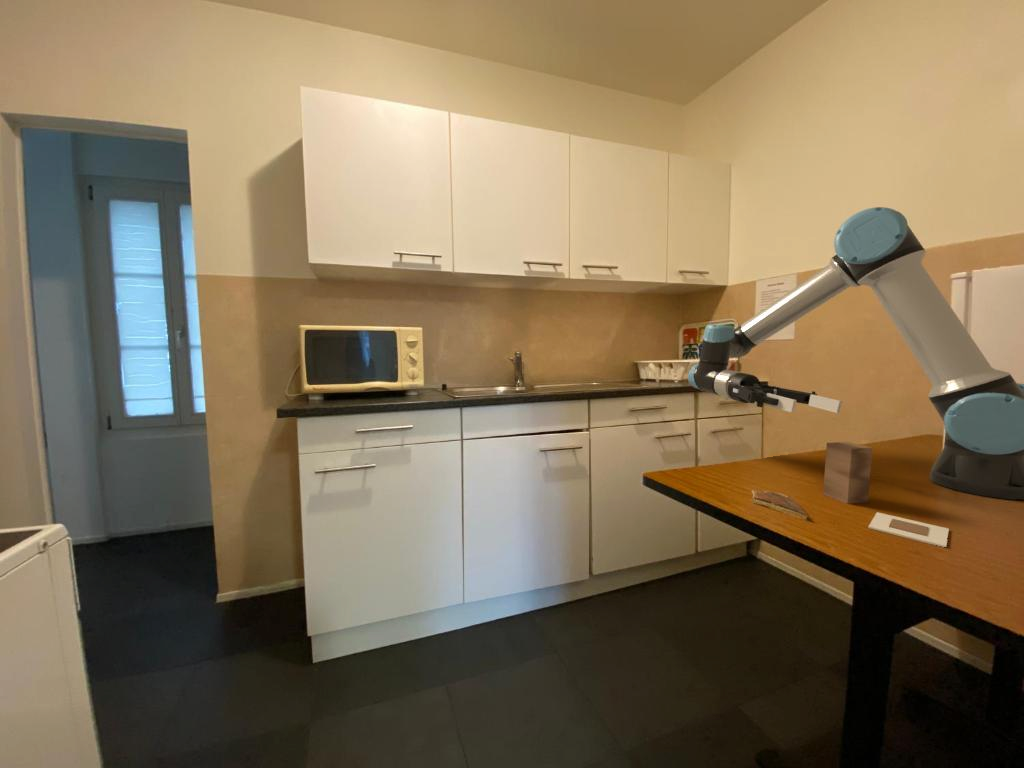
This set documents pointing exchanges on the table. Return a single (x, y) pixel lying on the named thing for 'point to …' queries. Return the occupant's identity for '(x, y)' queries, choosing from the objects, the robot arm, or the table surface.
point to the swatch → (910, 529)
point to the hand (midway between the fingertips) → (817, 406)
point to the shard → (778, 503)
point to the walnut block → (847, 472)
